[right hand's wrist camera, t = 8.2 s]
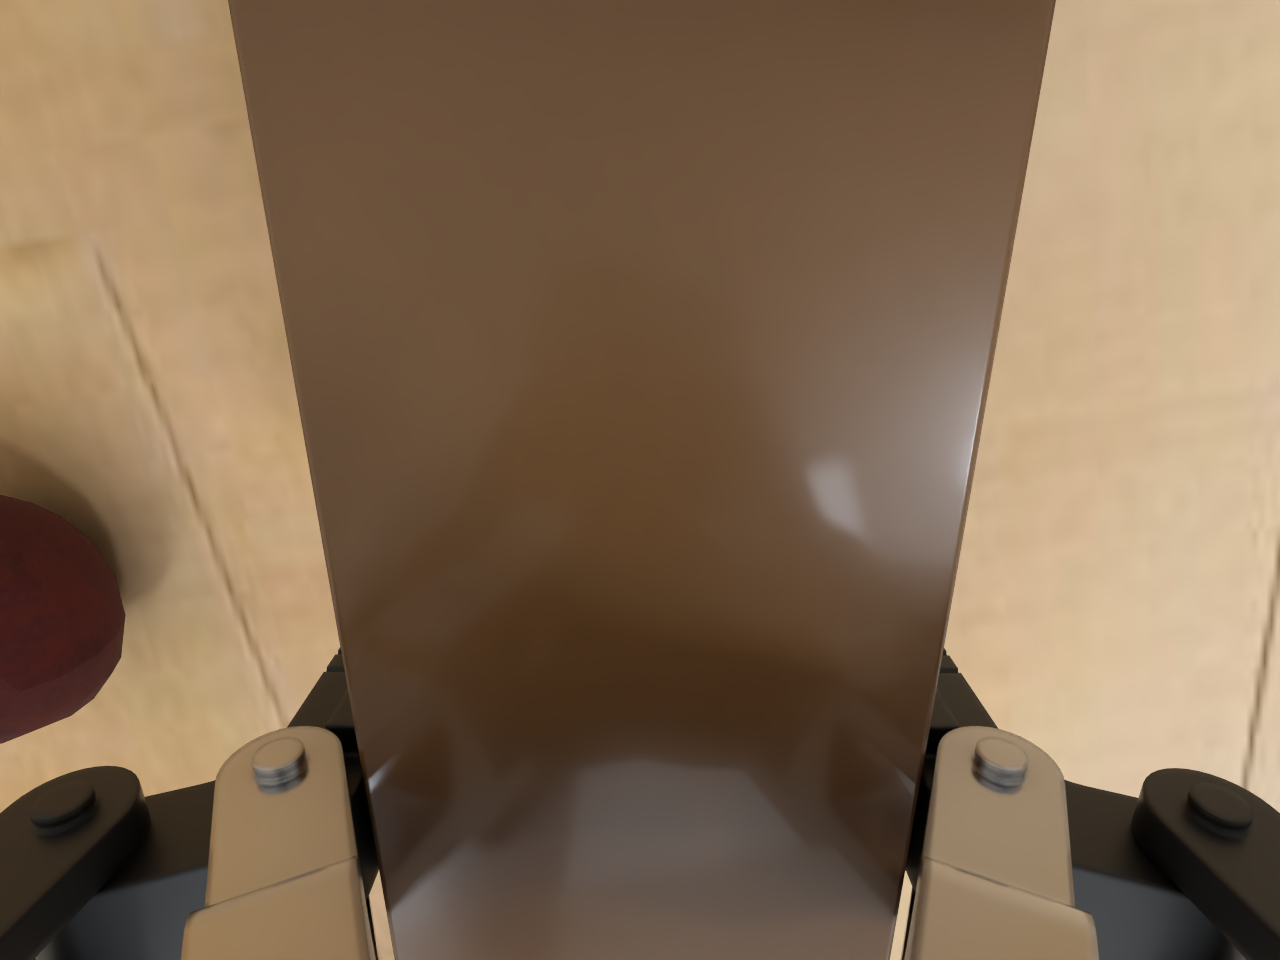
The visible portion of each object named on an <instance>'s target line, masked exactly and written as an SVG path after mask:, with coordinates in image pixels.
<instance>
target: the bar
mask: <svg viewBox="0 0 1280 960" xmlns="http://www.w3.org/2000/svg"><path fill="white" fill-rule="evenodd" d="M228 2H229V8H230V14H231V19H232V25H233V31H234V37H235V42H236V48H237V54H238V60H239V65H240V71H241V77H242V83H243V88H244V94H245V100H246V106H247V111H248V117H249V123H250V129H251V134H252V140H253V146H254V152H255V157H256V163H257V169H258V175H259V180H260V186H261V192H262V198H263V203H264V209H265V215H266V221H267V226H268V232H269V238H270V244H271V250H272V255H273V261H274V267H275V273H276V278H277V284H278V290H279V296H280V301H281V307H282V313H283V319H284V324H285V330H286V336H287V342H288V347H289V353H290V359H291V365H292V370H293V376H294V382H295V388H296V393H297V399H298V405H299V411H300V416H301V422H302V428H303V434H304V439H305V445H306V451H307V457H308V462H309V468H310V474H311V480H312V485H313V491H314V497H315V503H316V508H317V514H318V520H319V526H320V531H321V537H322V543H323V549H324V554H325V560H326V566H327V572H328V577H329V583H330V589H331V595H332V600H333V606H334V612H335V618H336V623H337V629H338V635H339V641H340V646H341V652H342V658H343V664H344V669H345V675H346V681H347V687H348V692H349V698H350V704H351V710H352V715H353V721H354V727H355V733H356V738H357V744H358V750H359V756H360V762H361V767H362V773H363V779H364V785H365V790H366V796H367V802H368V808H369V813H370V819H371V825H372V831H373V836H374V842H375V848H376V854H377V859H378V865H379V871H380V877H381V882H382V888H383V894H384V900H385V905H386V911H387V917H388V923H389V928H390V934H391V940H392V946H393V951H394V957H395V960H890V954H891V949H892V943H893V937H894V931H895V925H896V920H897V914H898V908H899V902H900V897H901V891H902V885H903V879H904V874H905V868H906V862H907V856H908V850H909V845H910V839H911V833H912V827H913V822H914V816H915V810H916V804H917V798H918V793H919V787H920V781H921V775H922V770H923V764H924V758H925V752H926V747H927V741H928V735H929V729H930V723H931V718H932V712H933V706H934V700H935V695H936V689H937V683H938V677H939V672H940V666H941V660H942V654H943V648H944V643H945V637H946V631H947V625H948V620H949V614H950V608H951V602H952V596H953V591H954V585H955V579H956V573H957V568H958V562H959V556H960V550H961V545H962V539H963V533H964V527H965V521H966V516H967V510H968V504H969V498H970V493H971V487H972V481H973V475H974V469H975V464H976V458H977V452H978V446H979V441H980V435H981V429H982V423H983V418H984V412H985V406H986V400H987V394H988V389H989V383H990V377H991V371H992V366H993V360H994V354H995V348H996V342H997V337H998V331H999V325H1000V319H1001V314H1002V308H1003V302H1004V296H1005V291H1006V285H1007V279H1008V273H1009V267H1010V262H1011V256H1012V250H1013V244H1014V239H1015V233H1016V227H1017V221H1018V216H1019V210H1020V204H1021V198H1022V192H1023V187H1024V181H1025V175H1026V169H1027V164H1028V158H1029V152H1030V146H1031V140H1032V135H1033V129H1034V123H1035V117H1036V112H1037V106H1038V100H1039V94H1040V89H1041V83H1042V77H1043V71H1044V65H1045V60H1046V54H1047V48H1048V42H1049V37H1050V31H1051V25H1052V19H1053V13H1054V8H1055V2H1056V0H228Z"/></svg>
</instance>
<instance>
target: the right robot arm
mask: <svg viewBox="0 0 1280 960" xmlns="http://www.w3.org/2000/svg"><path fill="white" fill-rule="evenodd" d="M378 870H379V865H378V859H377V854H376V848H375V842H374V836H373V831H372V825H371V819H370V813H369V808H368V802H367V796H366V790H365V785H364V779H363V773H362V767H361V762H360V756H359V750H358V744H357V738H356V733H355V727H354V721H353V715H352V710H351V704H350V698H349V692H348V687H347V681H346V675H345V669H344V664H343V658H342V652H341V647H340V648H339V650H338V655H335V656H334V658H333V659H332V661H331V662H330V664H329V665H328V667H327V672H324V673H323V674H322V676H321V677H320V679H319V680H318V682H317V683H316V685H315V686H314V688H313V689H312V691H311V692H310V694H309V695H308V697H307V698H306V700H305V701H304V703H303V704H302V706H301V707H300V709H299V710H298V712H297V713H296V715H295V716H294V718H293V719H292V721H291V722H290V724H289V725H288V727H287V728H284V729H279V730H276V731H273V732H270V733H267V734H265V735H263V736H260V737H258V738H256V739H254V740H252V741H250V742H249V743H247V744H246V745H244V746H243V747H241V748H240V749H238V750H237V751H236V752H235V753H233V754H232V755H231V756H230V757H229V758H228V759H227V760H226V761H225V763H224V764H223V766H222V767H221V768H220V770H219V772H218V774H217V777H216V780H215V781H211V782H208V783H204V784H200V785H196V786H191V787H187V788H183V789H178V790H174V791H169V792H165V793H160V794H156V795H152V796H147V797H144V794H143V791H142V788H141V785H140V782H139V779H138V778H137V776H136V775H135V774H134V773H133V772H132V771H130V770H128V769H125V768H122V767H117V766H100V767H92V768H86V769H82V770H78V771H74V772H71V773H68V774H65V775H63V776H60V777H57V778H55V779H53V780H50V781H48V782H46V783H44V784H42V785H40V786H38V787H36V788H35V789H33V790H31V791H30V792H28V793H27V794H25V795H23V796H22V797H20V798H19V799H18V800H16V801H15V802H14V803H12V804H11V805H10V806H9V807H7V808H6V809H5V810H4V811H3V812H1V813H0V960H34V959H35V958H36V960H379V954H378V948H377V941H376V934H375V928H374V921H373V914H372V908H371V903H370V897H369V894H370V891H371V888H372V886H373V883H374V881H375V878H376V875H377V873H378ZM905 871H907V874H908V876H909V879H910V881H911V884H912V892H911V897H910V903H909V908H908V915H907V921H906V928H905V934H904V941H903V948H902V954H901V960H1280V813H1279V812H1277V811H1276V810H1275V809H1274V808H1273V807H1271V806H1270V805H1269V804H1267V803H1266V802H1265V801H1263V800H1262V799H1261V798H1259V797H1257V796H1256V795H1254V794H1253V793H1251V792H1249V791H1248V790H1246V789H1244V788H1242V787H1240V786H1238V785H1236V784H1234V783H1232V782H1229V781H1227V780H1225V779H1222V778H1219V777H1216V776H1214V775H1211V774H1207V773H1203V772H1200V771H1195V770H1189V769H1179V768H1171V769H1162V770H1158V771H1156V772H1153V773H1151V774H1150V775H1149V776H1148V777H1146V779H1145V781H1144V783H1143V786H1142V789H1141V792H1140V795H1139V798H1136V797H1131V796H1127V795H1122V794H1118V793H1114V792H1109V791H1105V790H1100V789H1096V788H1092V787H1087V786H1083V785H1079V784H1076V783H1072V782H1069V781H1066V780H1064V777H1063V774H1062V772H1061V770H1060V768H1059V767H1058V766H1057V764H1056V763H1055V761H1054V760H1053V759H1052V758H1051V757H1050V756H1049V755H1048V754H1047V753H1045V752H1044V751H1043V750H1042V749H1040V748H1039V747H1037V746H1036V745H1034V744H1033V743H1031V742H1030V741H1028V740H1026V739H1024V738H1022V737H1020V736H1017V735H1015V734H1013V733H1010V732H1007V731H1004V730H1001V729H998V728H997V726H996V725H995V723H994V722H993V720H992V719H991V717H990V716H989V714H988V713H987V711H986V710H985V708H984V707H983V705H982V704H981V702H980V701H979V699H978V698H977V696H976V695H975V693H974V692H973V690H972V689H971V687H970V686H969V684H968V683H967V681H966V680H965V678H964V677H963V676H962V674H961V673H958V668H957V667H956V665H955V664H954V662H953V661H952V659H951V658H950V656H947V655H946V650H945V649H944V648H943V654H942V660H941V666H940V672H939V677H938V683H937V689H936V695H935V700H934V706H933V712H932V718H931V723H930V729H929V735H928V741H927V747H926V752H925V758H924V764H923V770H922V775H921V781H920V787H919V793H918V798H917V804H916V810H915V816H914V822H913V827H912V833H911V839H910V845H909V850H908V856H907V862H906V868H905Z"/></svg>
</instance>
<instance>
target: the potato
mask: <svg viewBox="0 0 1280 960" xmlns="http://www.w3.org/2000/svg"><path fill="white" fill-rule="evenodd" d="M124 623H125V612H124V608H123V605H122V601H121V597H120V594H119V590H118V586H117V582H116V579H115V575H114V574H113V572H112V571H111V569H110V568H109V566H108V565H107V563H106V562H105V560H104V559H103V557H102V556H101V554H100V553H99V551H98V550H97V548H96V547H95V545H94V544H93V542H92V541H91V539H89V538H88V537H87V536H86V535H84V534H83V533H82V532H80V531H79V530H78V529H76V528H75V527H74V526H72V525H71V524H70V523H68V522H67V521H66V520H65V519H63V518H62V517H61V516H58V515H56V514H54V513H52V512H50V511H48V510H46V509H43V508H41V507H39V506H37V505H35V504H33V503H30V502H26V501H22V500H18V499H14V498H10V497H6V496H3V495H0V744H1V743H4V742H7V741H9V740H12V739H14V738H17V737H19V736H22V735H24V734H27V733H29V732H32V731H34V730H37V729H39V728H42V727H44V726H47V725H49V724H52V723H54V722H57V721H59V720H62V719H64V718H67V717H69V716H71V715H73V714H74V713H75V712H77V711H78V710H79V709H81V708H82V707H83V706H85V705H86V704H87V703H89V702H90V701H91V700H92V699H94V698H95V696H96V695H97V693H98V692H99V691H100V689H101V688H102V686H103V685H104V684H105V682H106V681H107V679H108V678H109V676H110V675H111V674H112V672H113V670H114V669H115V667H116V665H117V663H118V662H119V660H120V658H121V653H122V643H123V633H124Z"/></svg>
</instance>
